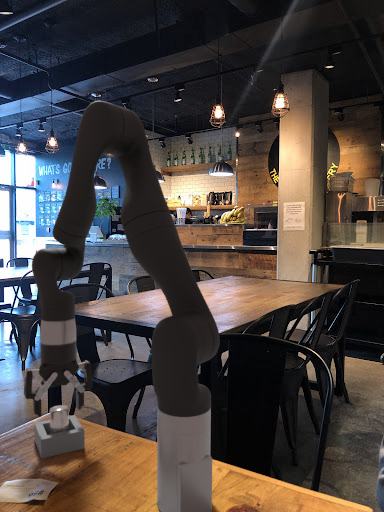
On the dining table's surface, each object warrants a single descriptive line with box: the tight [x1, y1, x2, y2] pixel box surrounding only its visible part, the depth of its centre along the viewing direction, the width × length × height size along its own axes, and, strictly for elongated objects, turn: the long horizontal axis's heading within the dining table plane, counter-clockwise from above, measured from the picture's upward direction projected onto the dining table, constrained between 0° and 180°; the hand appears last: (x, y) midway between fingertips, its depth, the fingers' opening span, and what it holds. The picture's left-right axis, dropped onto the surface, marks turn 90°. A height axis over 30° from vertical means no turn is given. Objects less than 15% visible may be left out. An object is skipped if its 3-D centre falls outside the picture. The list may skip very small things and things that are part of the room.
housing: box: [33, 414, 86, 460], centre depth 94 cm, size 9×9×4 cm
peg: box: [49, 404, 70, 435], centre depth 94 cm, size 4×4×8 cm
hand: (59, 411), depth 93 cm, fingers open, 8 cm apart
